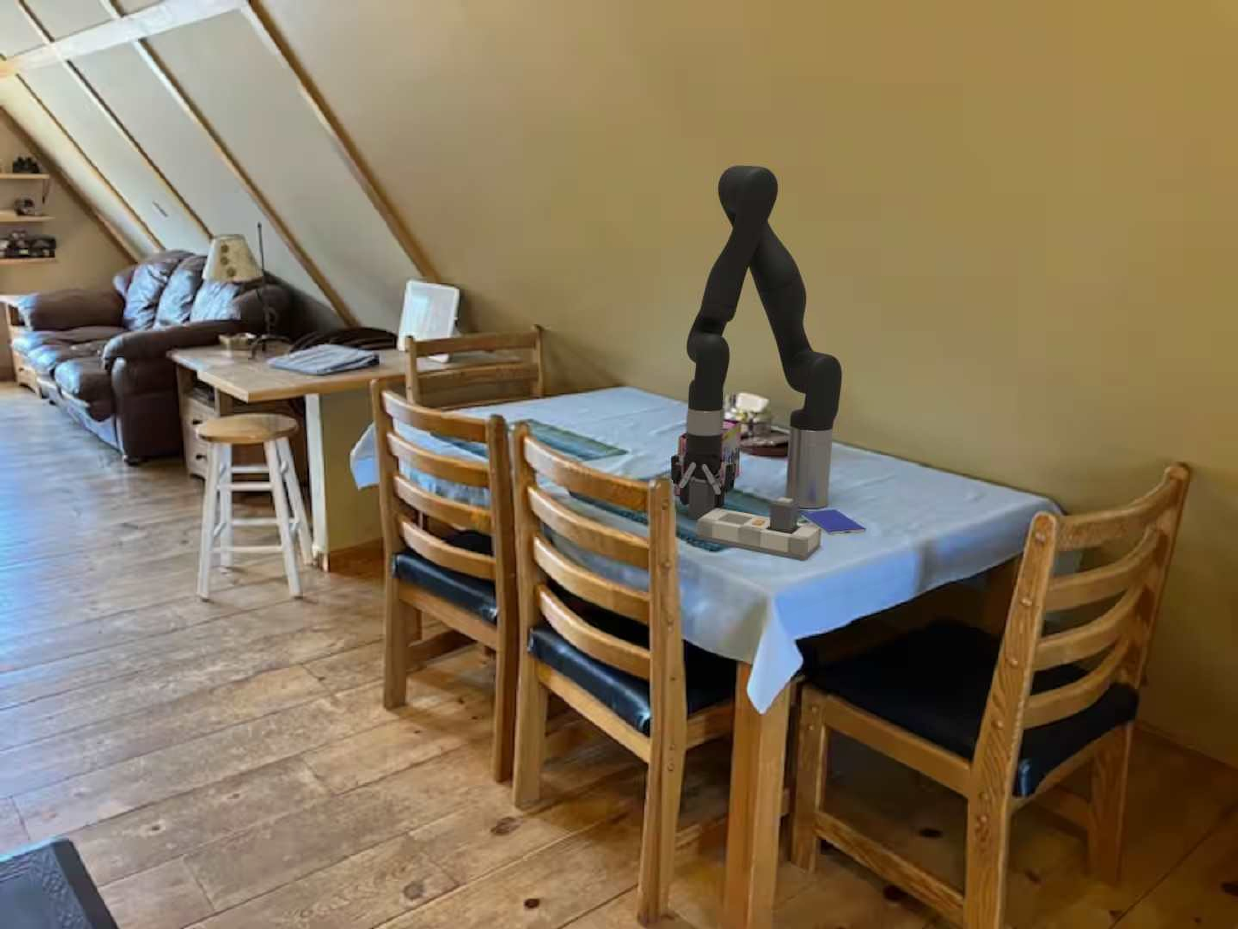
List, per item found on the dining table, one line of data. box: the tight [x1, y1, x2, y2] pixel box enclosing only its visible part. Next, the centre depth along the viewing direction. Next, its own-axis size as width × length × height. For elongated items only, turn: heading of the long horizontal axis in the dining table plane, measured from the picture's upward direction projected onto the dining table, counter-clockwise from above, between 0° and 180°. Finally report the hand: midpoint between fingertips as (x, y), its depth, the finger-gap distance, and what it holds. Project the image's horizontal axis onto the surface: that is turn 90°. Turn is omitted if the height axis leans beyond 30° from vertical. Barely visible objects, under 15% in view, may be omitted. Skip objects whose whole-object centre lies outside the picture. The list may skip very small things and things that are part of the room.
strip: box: [696, 508, 822, 561], centre depth 192 cm, size 22×9×4 cm, turn 60°
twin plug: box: [769, 497, 799, 534], centre depth 189 cm, size 4×4×9 cm
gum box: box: [675, 418, 742, 496], centre depth 228 cm, size 24×8×14 cm, turn 155°
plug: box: [687, 478, 716, 522], centre depth 206 cm, size 4×4×9 cm
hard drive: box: [801, 509, 867, 536], centre depth 204 cm, size 2×8×12 cm
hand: (701, 507), depth 206 cm, fingers open, 7 cm apart
